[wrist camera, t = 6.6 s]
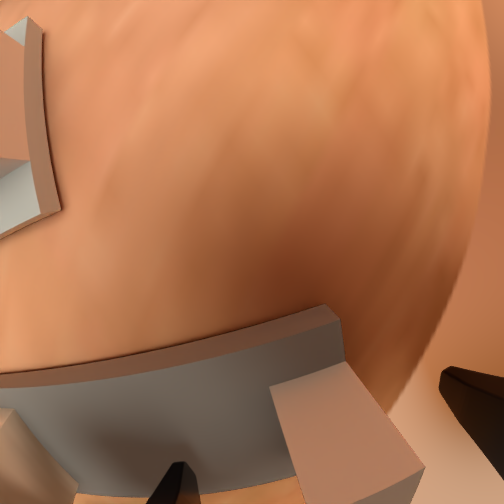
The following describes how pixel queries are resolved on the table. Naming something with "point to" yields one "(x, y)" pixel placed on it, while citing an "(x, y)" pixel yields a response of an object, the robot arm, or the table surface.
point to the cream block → (29, 467)
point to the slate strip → (23, 131)
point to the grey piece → (223, 417)
